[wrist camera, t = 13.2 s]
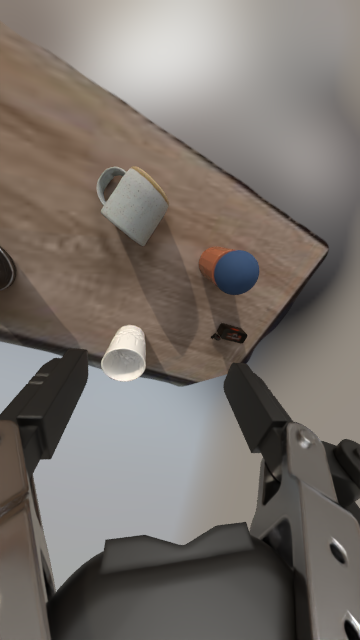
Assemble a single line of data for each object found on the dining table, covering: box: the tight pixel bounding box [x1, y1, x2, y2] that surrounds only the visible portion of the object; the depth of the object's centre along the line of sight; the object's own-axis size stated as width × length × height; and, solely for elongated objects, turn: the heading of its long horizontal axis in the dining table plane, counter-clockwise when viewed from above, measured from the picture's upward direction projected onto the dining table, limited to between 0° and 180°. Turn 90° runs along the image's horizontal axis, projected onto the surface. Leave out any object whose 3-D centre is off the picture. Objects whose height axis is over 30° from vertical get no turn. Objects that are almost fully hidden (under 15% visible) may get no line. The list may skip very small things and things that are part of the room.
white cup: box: [101, 325, 146, 381], centre depth 36 cm, size 8×8×10 cm
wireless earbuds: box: [211, 323, 247, 343], centre depth 42 cm, size 5×7×3 cm, turn 70°
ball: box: [214, 250, 259, 295], centre depth 25 cm, size 6×6×6 cm
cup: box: [199, 247, 235, 286], centre depth 31 cm, size 6×6×9 cm
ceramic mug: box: [97, 167, 169, 246], centre depth 26 cm, size 11×8×8 cm
